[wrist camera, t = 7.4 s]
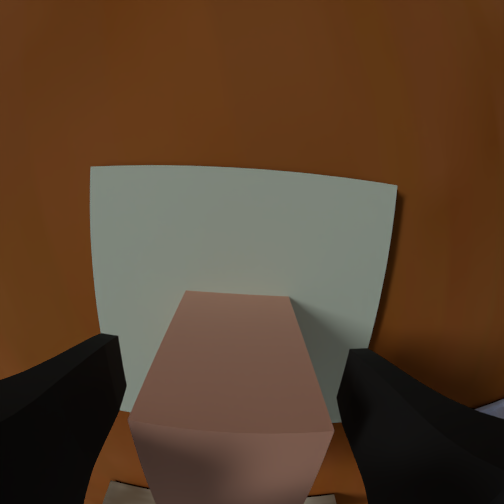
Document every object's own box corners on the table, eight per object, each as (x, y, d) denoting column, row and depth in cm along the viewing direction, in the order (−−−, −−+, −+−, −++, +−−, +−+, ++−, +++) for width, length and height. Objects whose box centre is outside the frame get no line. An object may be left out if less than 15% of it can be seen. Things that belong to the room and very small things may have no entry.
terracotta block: (288, 296, 12) (334, 430, 5) (277, 377, 13) (299, 513, 6) (185, 290, 12) (127, 419, 5) (188, 372, 13) (156, 505, 6)
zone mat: (391, 184, 11) (397, 185, 11) (342, 415, 14) (344, 421, 14) (96, 166, 11) (90, 166, 10) (120, 403, 14) (117, 409, 13)
